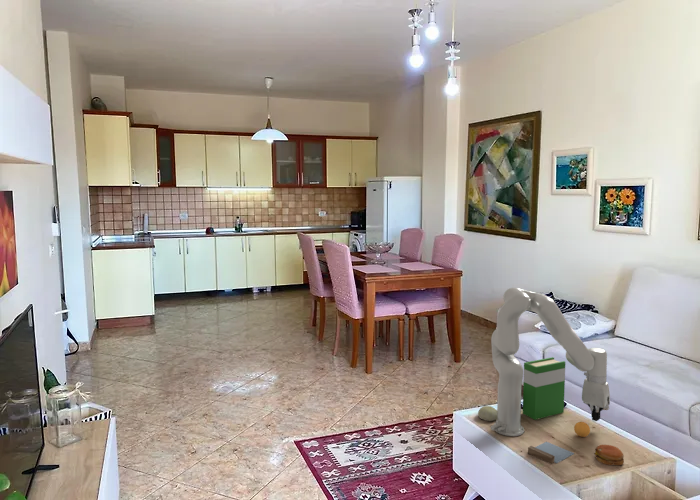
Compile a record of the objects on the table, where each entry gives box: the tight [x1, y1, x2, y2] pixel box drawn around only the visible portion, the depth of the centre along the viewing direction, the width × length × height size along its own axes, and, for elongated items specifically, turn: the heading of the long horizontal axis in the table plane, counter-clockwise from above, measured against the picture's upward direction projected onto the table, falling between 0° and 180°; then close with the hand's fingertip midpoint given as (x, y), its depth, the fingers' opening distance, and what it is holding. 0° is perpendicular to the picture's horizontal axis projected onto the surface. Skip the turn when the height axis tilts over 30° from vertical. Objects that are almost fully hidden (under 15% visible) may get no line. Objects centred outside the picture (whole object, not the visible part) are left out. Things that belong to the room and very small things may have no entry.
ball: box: [573, 421, 591, 438], centre depth 211 cm, size 6×6×6 cm
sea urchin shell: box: [477, 405, 497, 422], centre depth 230 cm, size 9×8×8 cm
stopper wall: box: [527, 445, 555, 465], centre depth 194 cm, size 2×10×2 cm, turn 36°
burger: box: [594, 444, 625, 466], centre depth 193 cm, size 10×9×5 cm
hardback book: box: [522, 356, 566, 421], centre depth 234 cm, size 18×7×24 cm, turn 115°
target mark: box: [534, 441, 575, 464], centre depth 199 cm, size 12×12×1 cm
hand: (595, 419), depth 217 cm, fingers closed
